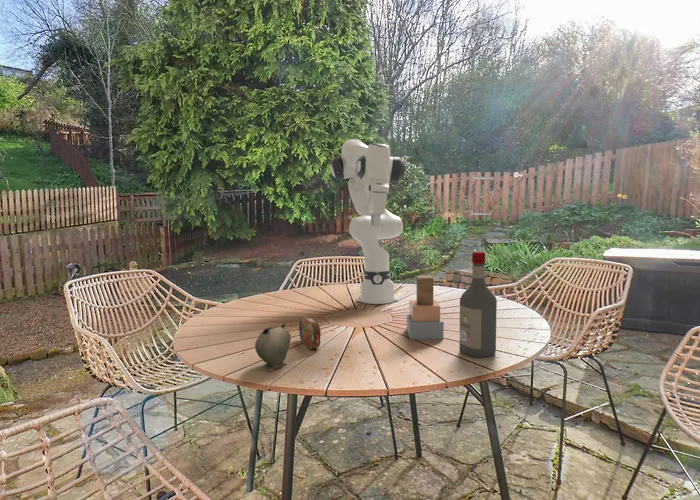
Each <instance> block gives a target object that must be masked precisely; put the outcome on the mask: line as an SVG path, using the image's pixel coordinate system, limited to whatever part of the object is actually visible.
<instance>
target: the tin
mask: <svg viewBox="0 0 700 500" xmlns="http://www.w3.org/2000/svg"><path fill="white" fill-rule="evenodd" d="M298 325H299V326H298V327H299V329H298V330H299V331H298V332H299V339H300V341H301V343H302V344H303V345H304V346H305V347H306V348H307V349H308V350H314V349H318V348H319V347H320V345H321V333H322V331H321V327H320V325H319V323H318V322H316V321H315V320H314V319H313V318H311V317H310V316H309V317H308V316H307V317H300V320H299V324H298Z"/></svg>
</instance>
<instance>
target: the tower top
mask: <svg viewBox="0 0 700 500" xmlns="http://www.w3.org/2000/svg"><path fill="white" fill-rule="evenodd" d="M408 302H409V303H408V304H409V306H408V307H409V314H410V317H411V319H412V321H440V317H441V306H440V304H439V303H438V301H437V300H436V299H433V305H418V303H417V299H416V300H415V299H414V300H413V299H409V301H408Z"/></svg>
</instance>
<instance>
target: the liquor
mask: <svg viewBox="0 0 700 500" xmlns="http://www.w3.org/2000/svg"><path fill="white" fill-rule="evenodd" d="M471 253H472V255H471V261H472V262H471V263H472V274H471V275H472V279H471V282H470V283H471V284H470V286H469V287H468V288H467V289H466V290H465V291H464V292H463V293H462V294H461V296H460V298H459V351H460V352H461V353H462V354H464V355H466V356H468V357H470V358H474V359H475V358H476V359H484V358H488V357H494V355H495V354H496V350H497V304H498V301H497V300H498V299H497V297H496V295H495V294H494V293H493V292H492V290H491V289H490V288H489V287H488V286H487V283H486V281H485V280H486V277H485V276H486V275H485V271H486V270H485V269H486V268H485V264H486V252H485V251H473V252H471Z"/></svg>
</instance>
